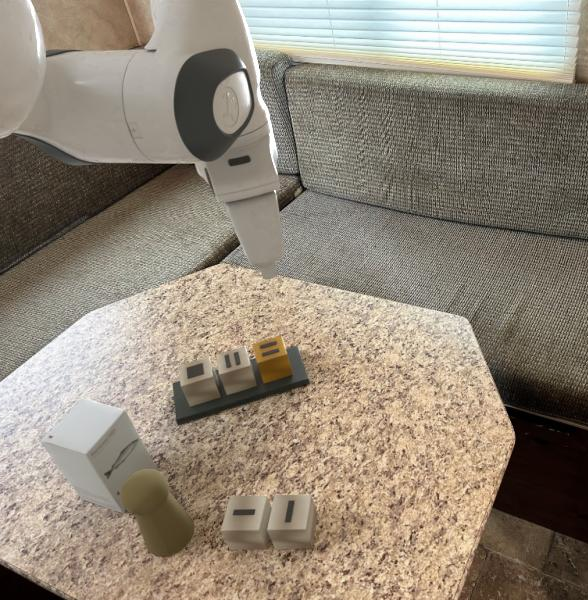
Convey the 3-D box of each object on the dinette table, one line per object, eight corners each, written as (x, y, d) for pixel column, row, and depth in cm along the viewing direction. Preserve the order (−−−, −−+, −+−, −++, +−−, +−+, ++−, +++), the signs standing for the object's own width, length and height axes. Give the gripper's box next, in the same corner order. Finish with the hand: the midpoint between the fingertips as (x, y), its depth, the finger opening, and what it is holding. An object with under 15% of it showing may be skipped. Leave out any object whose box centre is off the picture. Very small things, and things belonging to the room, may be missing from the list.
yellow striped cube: (287, 355, 97) (281, 334, 94) (293, 374, 94) (287, 353, 91) (258, 364, 96) (251, 343, 93) (263, 383, 93) (256, 362, 90)
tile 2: (252, 366, 96) (245, 345, 93) (257, 386, 92) (250, 365, 89) (223, 375, 95) (215, 354, 92) (227, 395, 91) (218, 374, 88)
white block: (317, 514, 76) (311, 493, 73) (312, 549, 72) (305, 528, 70) (281, 514, 76) (274, 494, 73) (274, 549, 73) (266, 529, 70)
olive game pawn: (155, 512, 78) (124, 460, 71) (201, 511, 78) (174, 459, 71) (138, 557, 73) (103, 507, 66) (187, 556, 73) (156, 506, 66)
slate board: (298, 350, 99) (297, 345, 99) (310, 383, 93) (308, 378, 93) (174, 387, 95) (172, 382, 94) (178, 425, 89) (175, 419, 88)
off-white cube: (274, 515, 76) (266, 494, 74) (267, 549, 73) (258, 529, 70) (239, 515, 77) (229, 495, 74) (230, 550, 73) (220, 530, 70)
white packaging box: (124, 515, 78) (84, 456, 70) (80, 499, 80) (36, 440, 72) (160, 469, 83) (126, 408, 75) (118, 455, 86) (81, 395, 78)
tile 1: (217, 376, 94) (209, 355, 92) (220, 397, 91) (212, 376, 88) (187, 385, 94) (178, 364, 91) (189, 406, 90) (180, 385, 87)
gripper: (195, 120, 72) (225, 219, 81) (215, 197, 57) (250, 309, 65) (248, 109, 73) (272, 208, 82) (281, 182, 58) (306, 293, 67)
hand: (262, 254), depth 74 cm, fingers open, 8 cm apart
